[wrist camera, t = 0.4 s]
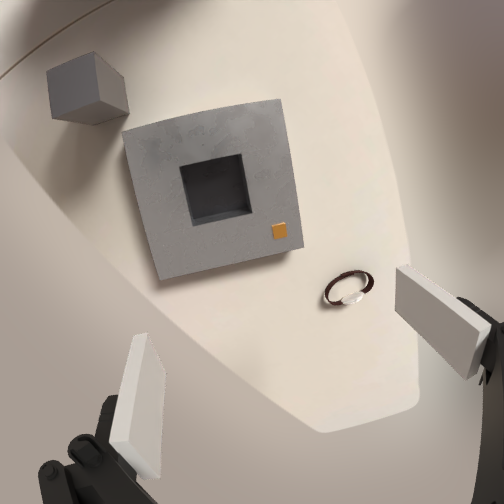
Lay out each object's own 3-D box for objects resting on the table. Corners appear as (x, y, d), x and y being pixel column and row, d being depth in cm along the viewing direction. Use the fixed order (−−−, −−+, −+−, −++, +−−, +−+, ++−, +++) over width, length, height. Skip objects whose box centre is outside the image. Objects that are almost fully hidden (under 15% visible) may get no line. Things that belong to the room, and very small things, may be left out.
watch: (326, 306, 47) (335, 317, 43) (319, 280, 45) (328, 291, 42) (369, 286, 47) (380, 296, 44) (364, 260, 45) (376, 269, 42)
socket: (129, 133, 34) (120, 131, 30) (272, 103, 36) (281, 98, 32) (163, 268, 40) (159, 281, 36) (294, 238, 42) (305, 248, 38)
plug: (87, 89, 31) (46, 71, 20) (123, 77, 32) (93, 51, 20) (93, 125, 33) (52, 118, 22) (129, 113, 33) (100, 100, 22)
